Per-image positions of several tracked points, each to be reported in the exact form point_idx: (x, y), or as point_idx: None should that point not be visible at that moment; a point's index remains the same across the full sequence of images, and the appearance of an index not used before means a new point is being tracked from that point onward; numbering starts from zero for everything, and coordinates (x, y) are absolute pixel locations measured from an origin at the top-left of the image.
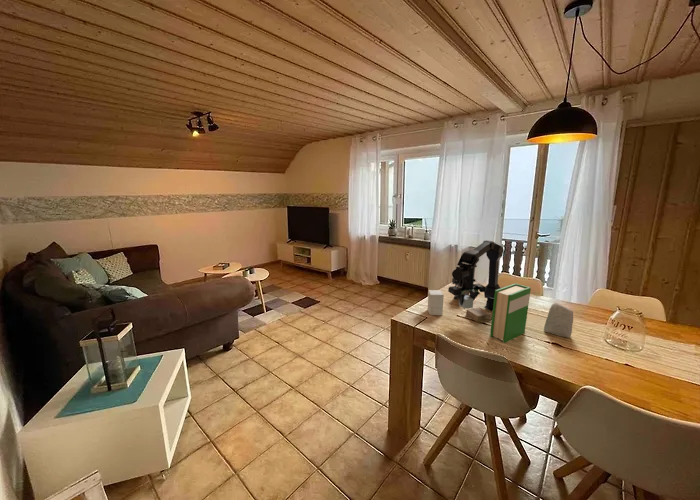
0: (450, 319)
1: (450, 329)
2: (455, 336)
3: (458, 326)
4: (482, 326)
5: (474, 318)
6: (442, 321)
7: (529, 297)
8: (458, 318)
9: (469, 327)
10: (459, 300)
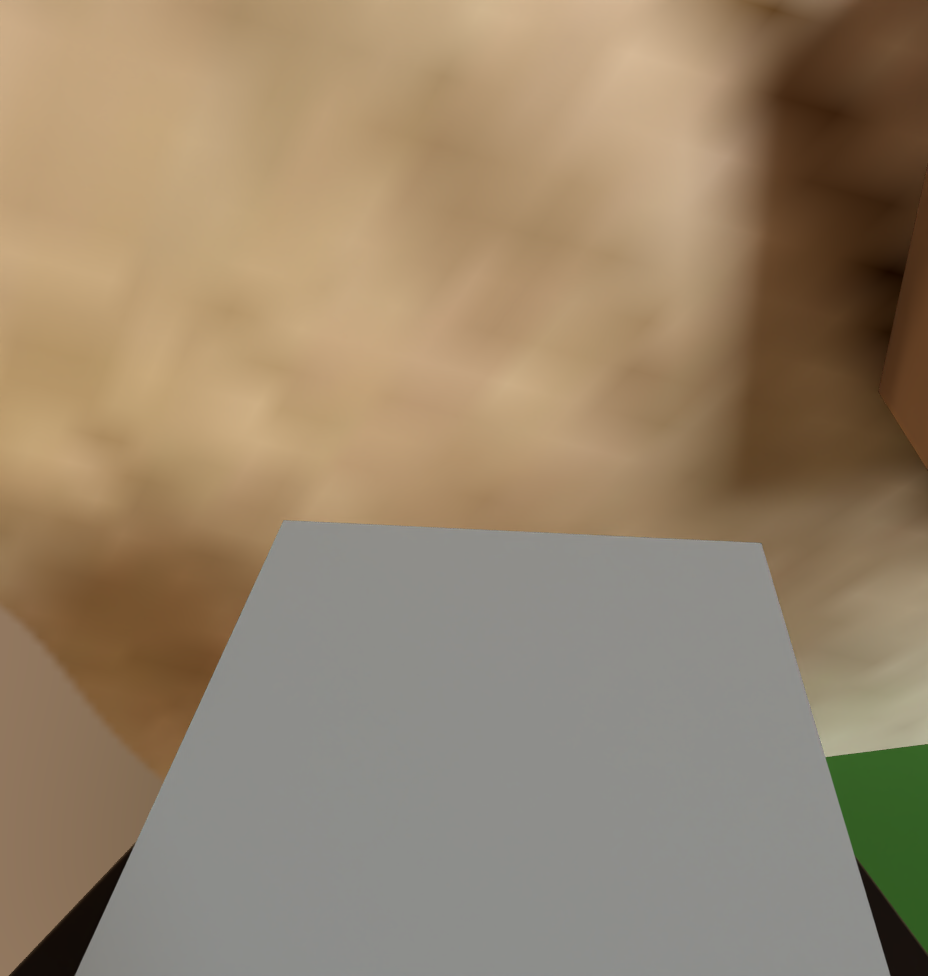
0: (296, 45)
1: (109, 477)
2: (119, 657)
3: (323, 426)
4: (816, 553)
5: (922, 315)
6: (27, 104)
7: None
8: (570, 47)
9: (525, 515)
10: (85, 931)
